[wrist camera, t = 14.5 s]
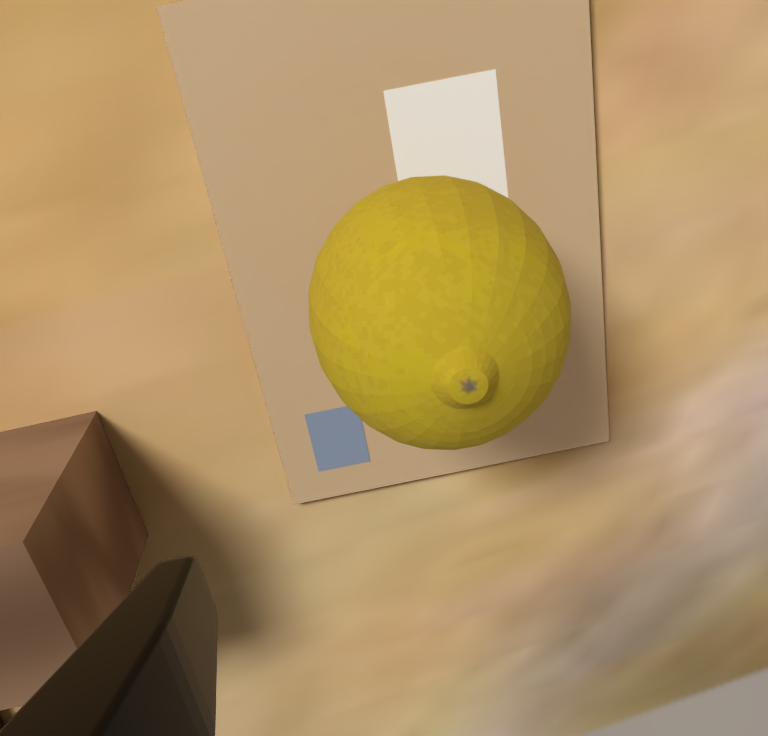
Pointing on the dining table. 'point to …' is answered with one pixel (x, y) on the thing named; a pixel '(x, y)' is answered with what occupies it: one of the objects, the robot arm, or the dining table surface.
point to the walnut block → (60, 546)
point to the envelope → (382, 167)
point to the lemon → (439, 312)
